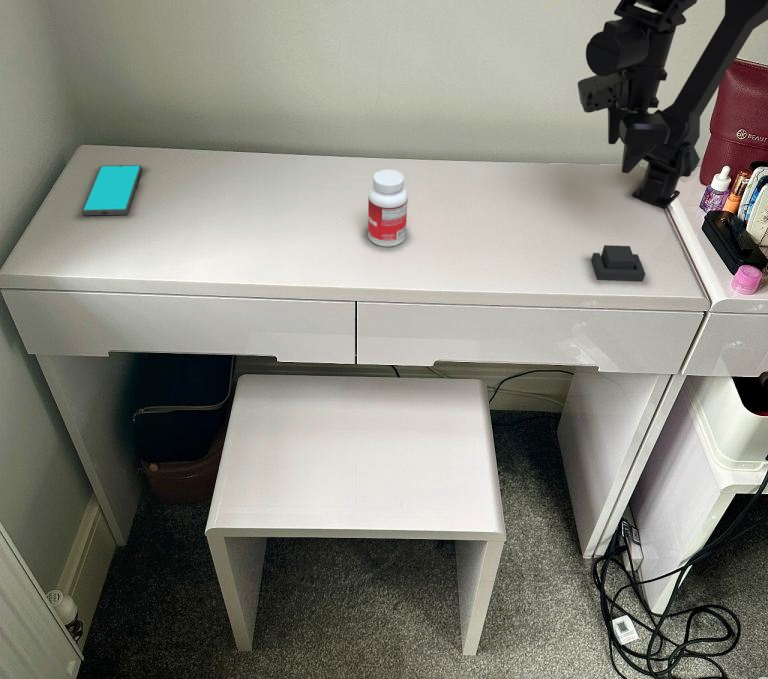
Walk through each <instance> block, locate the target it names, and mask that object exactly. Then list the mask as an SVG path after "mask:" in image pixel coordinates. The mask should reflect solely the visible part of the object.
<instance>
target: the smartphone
mask: <svg viewBox="0 0 768 679" xmlns="http://www.w3.org/2000/svg"><path fill="white" fill-rule="evenodd" d="M142 171H143V167H142V164H121V165H120V164H119V165H118V164H114V165H113V164H112V165H100V166H99V168H98V170H97V173H96V175H95V178H94V180H93V183H92V185H91V187H90V190H89V192H88V194H87V197H86V199H85V201H84V204H83V206H82V209H81V212H82V215H83V216H121V215H122V216H123V215H129V211H130V208H131V206H132V202H133V200H134V197H135V193H136V190H137V187H138V184H139V181H140V178H141V175H142Z"/></svg>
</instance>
